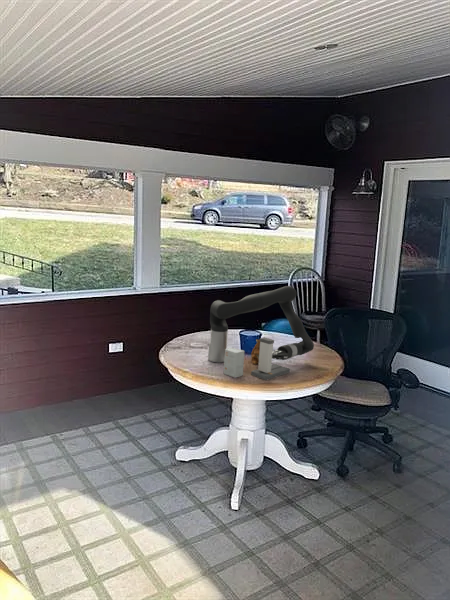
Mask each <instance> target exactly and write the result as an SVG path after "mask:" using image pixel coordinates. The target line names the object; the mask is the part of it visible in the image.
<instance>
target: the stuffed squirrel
mask: <svg viewBox="0 0 450 600" xmlns="http://www.w3.org/2000/svg"><path fill="white" fill-rule="evenodd" d="M255 341H256V344H255V345H254V347H253V348H252V351H251V353H250V357H251V364H253V365H258V364H259V352H260V339H258V338H257V339H255Z"/></svg>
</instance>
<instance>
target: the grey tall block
mask: <svg viewBox="0 0 450 600" xmlns="http://www.w3.org/2000/svg"><path fill="white" fill-rule="evenodd" d="M259 340H260V352H259V363H258V364H257V365H258V368H257V369H258V370H260V371H263V372H265V373H269V372H271V365H273V364H272V363H273V359H272V353H273V351H274V344H275V340H274V339H271V338H268V337H265V336H264V337H260V338H259Z"/></svg>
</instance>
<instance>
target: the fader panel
mask: <svg viewBox="0 0 450 600" xmlns="http://www.w3.org/2000/svg"><path fill="white" fill-rule="evenodd" d="M290 372H291V368H290V367H289V368H288V367H286V366H283V365H279V364H277V363H274V364H272V365H271V372H269V373H265V372H263V371H260V370H258V368H257V369H254V370H251V371H250V375H251V376H253V377H256V378H259V379H261V380H264V381H267V380H271V379H273V378H277V377H279V376H282V375H283V376H284V375H286V374H289V373H290Z"/></svg>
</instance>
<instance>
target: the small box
mask: <svg viewBox="0 0 450 600" xmlns="http://www.w3.org/2000/svg"><path fill="white" fill-rule="evenodd" d="M244 362H245V350H243V349H240V348H235V347H230V348H227V349H225V359H224V362H223V374H224V375H227V376H229V377H232V378H239V377H242V376H244V365H245V363H244Z"/></svg>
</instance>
